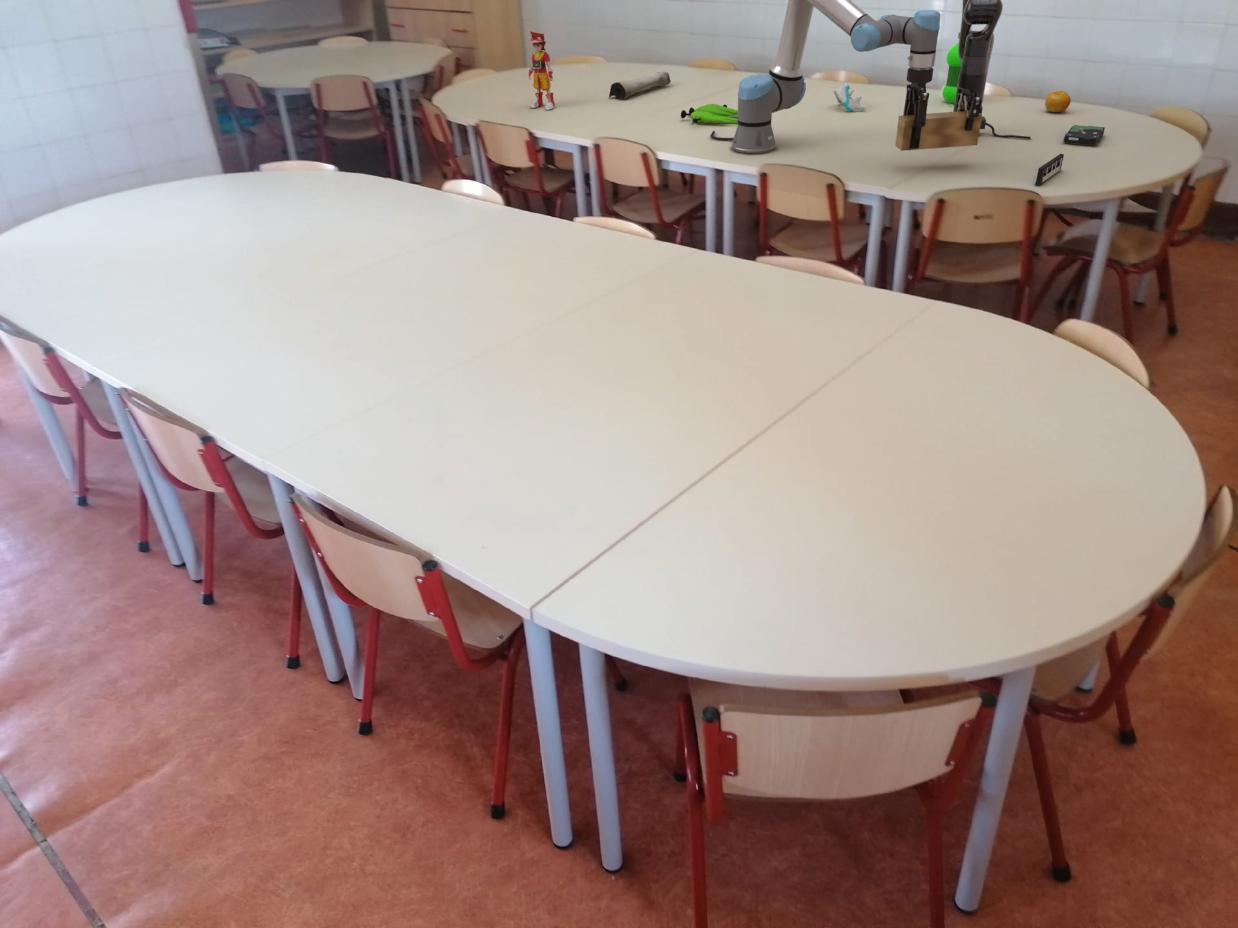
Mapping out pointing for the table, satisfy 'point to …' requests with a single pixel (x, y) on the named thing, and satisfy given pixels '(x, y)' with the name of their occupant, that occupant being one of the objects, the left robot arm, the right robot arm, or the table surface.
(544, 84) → the toy
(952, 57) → the plastic bottle
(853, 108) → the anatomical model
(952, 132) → the box
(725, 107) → the toy
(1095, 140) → the disk drive
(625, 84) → the rolled mat
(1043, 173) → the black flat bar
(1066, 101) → the fruit
